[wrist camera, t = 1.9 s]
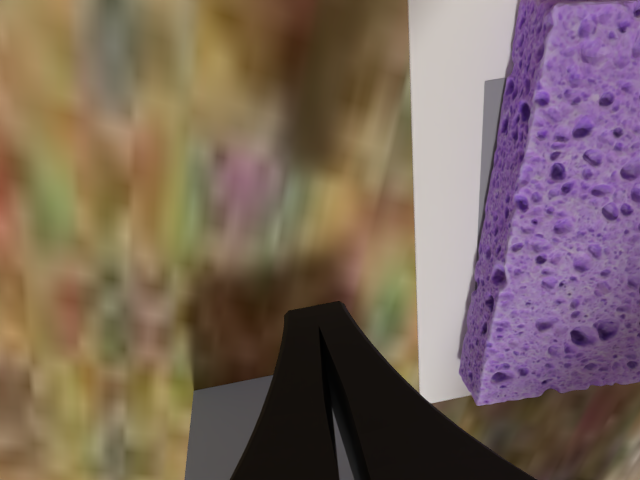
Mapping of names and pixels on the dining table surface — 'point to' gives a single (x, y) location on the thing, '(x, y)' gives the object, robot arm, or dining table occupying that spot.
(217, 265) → the dining table surface
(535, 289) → the sponges
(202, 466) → the cube
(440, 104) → the letter
